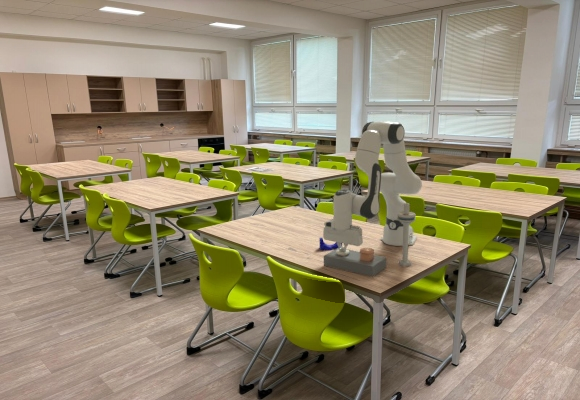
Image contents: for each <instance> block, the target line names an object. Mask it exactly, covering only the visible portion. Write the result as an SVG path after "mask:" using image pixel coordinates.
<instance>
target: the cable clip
mask: <svg viewBox="0 0 580 400" xmlns="http://www.w3.org/2000/svg"><path fill="white" fill-rule="evenodd" d="M318 241H319V250H320V251H333V250H335V249H337V248H339V247H338V245H337V242H335V243H332V244H327V243H325V241H324V238H323V237H319V240H318ZM341 245H342V246H343V243H341Z"/></svg>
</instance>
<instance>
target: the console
mask: <svg viewBox="0 0 580 400" xmlns="http://www.w3.org/2000/svg"><path fill="white" fill-rule="evenodd" d="M336 250H339V248H337V249H332V250H331V251H330V252H327V253H326V254H324V255H323V266H325V267H328V268H333V269H337V270H342V271H346V272H350V273H354V274H359V275H363V276H367V277H370V278H371V277H372V278H374V277H375V276H376V275H378V274H379V273H381V272H382V271H383V270H384V269H386V268H387V256H381V255H376V254H374V259H373V260H372V261H370V262H367V261H363V260H360V251H356V250H351V249H347V248H346V250H349V255H347V256H345V257H344V256H339V255H336Z"/></svg>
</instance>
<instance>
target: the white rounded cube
mask: <svg viewBox="0 0 580 400" xmlns="http://www.w3.org/2000/svg"><path fill="white" fill-rule="evenodd" d="M349 250H350V249H347V250H346V252H342V251H339V250H336V255H339V256H344V257H345V256H347V255H349Z"/></svg>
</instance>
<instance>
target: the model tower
mask: <svg viewBox="0 0 580 400" xmlns="http://www.w3.org/2000/svg"><path fill="white" fill-rule="evenodd" d="M397 216H398V218H397V220H398V221H400V222H401V223H402V224H403V246H402V254H401V256H402V258H401V260H398V264H399V265H400V266H401V267H403V268H404V267H405V268H406V267H411V266H412V262H411V261H410V260H408V259H409V245H408V235H409V225H410V224H412V223H413V222H415V221H416V213H415V212H413V211H410V203H409V202H406V203H404V211H402V212H398V213H397Z"/></svg>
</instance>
